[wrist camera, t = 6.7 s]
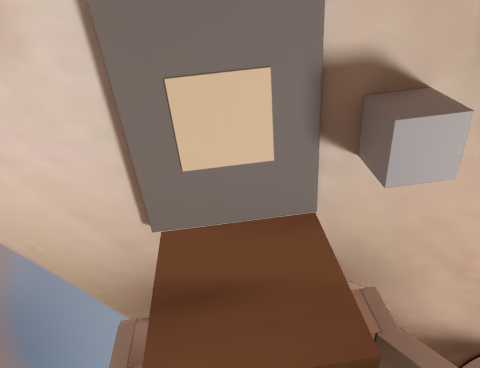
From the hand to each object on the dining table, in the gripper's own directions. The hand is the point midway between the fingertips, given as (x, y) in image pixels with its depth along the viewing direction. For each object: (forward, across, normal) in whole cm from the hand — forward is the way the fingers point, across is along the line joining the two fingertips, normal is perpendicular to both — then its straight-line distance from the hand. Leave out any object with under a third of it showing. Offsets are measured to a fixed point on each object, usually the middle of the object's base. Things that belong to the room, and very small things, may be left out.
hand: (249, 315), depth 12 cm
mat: (+17, 0, 0) cm, 17 cm away
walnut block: (+2, 0, 0) cm, 2 cm away
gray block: (+17, -13, +2) cm, 22 cm away
